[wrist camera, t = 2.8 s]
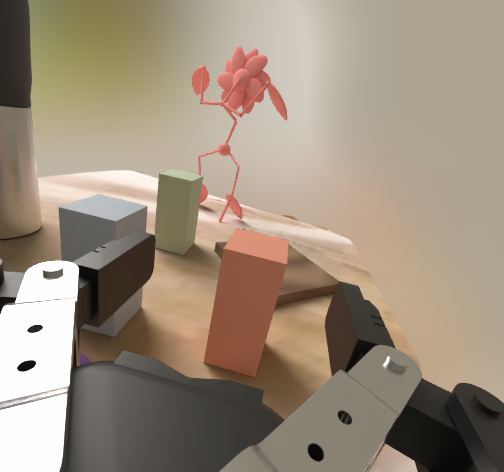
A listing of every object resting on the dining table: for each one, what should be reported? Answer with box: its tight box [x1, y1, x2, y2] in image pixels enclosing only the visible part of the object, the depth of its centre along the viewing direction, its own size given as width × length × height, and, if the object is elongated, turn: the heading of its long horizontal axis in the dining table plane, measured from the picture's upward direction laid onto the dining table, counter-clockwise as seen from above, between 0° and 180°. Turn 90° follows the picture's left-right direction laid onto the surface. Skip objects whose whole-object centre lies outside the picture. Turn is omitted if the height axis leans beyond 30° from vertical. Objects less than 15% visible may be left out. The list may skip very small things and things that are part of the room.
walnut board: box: [215, 242, 339, 306], centre depth 45 cm, size 16×14×2 cm
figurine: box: [192, 47, 287, 230], centre depth 63 cm, size 15×26×35 cm, turn 57°
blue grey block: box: [59, 194, 147, 337], centre depth 27 cm, size 5×5×12 cm
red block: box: [204, 228, 289, 377], centre depth 26 cm, size 5×5×12 cm
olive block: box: [155, 169, 203, 255], centre depth 45 cm, size 5×5×12 cm
